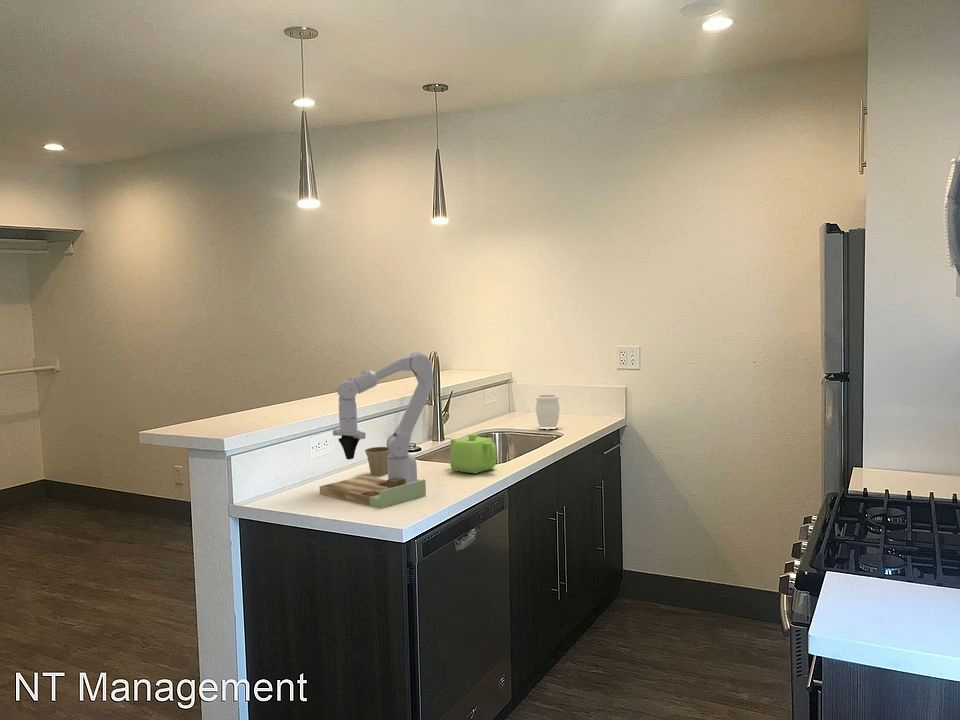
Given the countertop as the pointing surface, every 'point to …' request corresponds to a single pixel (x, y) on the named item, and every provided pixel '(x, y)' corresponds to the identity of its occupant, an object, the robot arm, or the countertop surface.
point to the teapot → (472, 454)
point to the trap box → (374, 491)
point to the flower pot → (377, 460)
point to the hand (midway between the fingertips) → (350, 458)
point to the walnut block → (395, 482)
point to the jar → (547, 410)
